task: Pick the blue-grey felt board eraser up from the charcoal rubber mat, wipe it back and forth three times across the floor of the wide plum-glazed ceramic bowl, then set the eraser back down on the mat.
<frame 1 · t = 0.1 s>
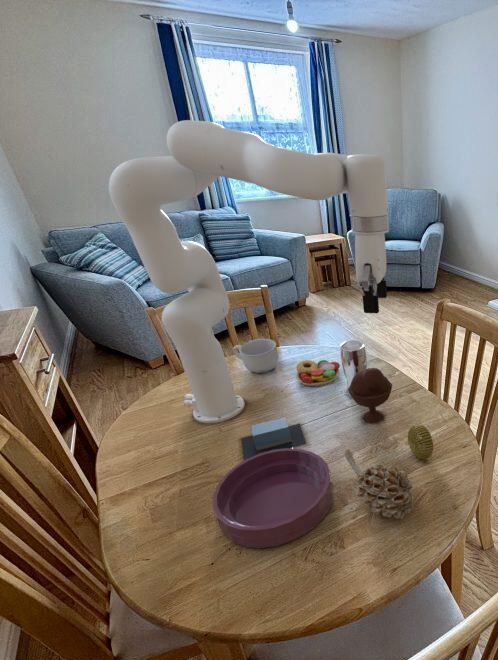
hand: (376, 304, 92), 31 cm above the table, tool pointing down, fingers open, 9 cm apart
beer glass: (357, 392, 119), on the table
serving bowl: (278, 504, 83), on the table
pine cone: (374, 497, 84), on the table
ice cream bowl: (373, 417, 108), on the table
toy food set: (319, 377, 127), on the table
rubber mat: (273, 442, 99), on the table
teacup: (259, 368, 132), on the table
board eraser: (273, 440, 99), resting on rubber mat
sculpture: (420, 455, 95), on the table
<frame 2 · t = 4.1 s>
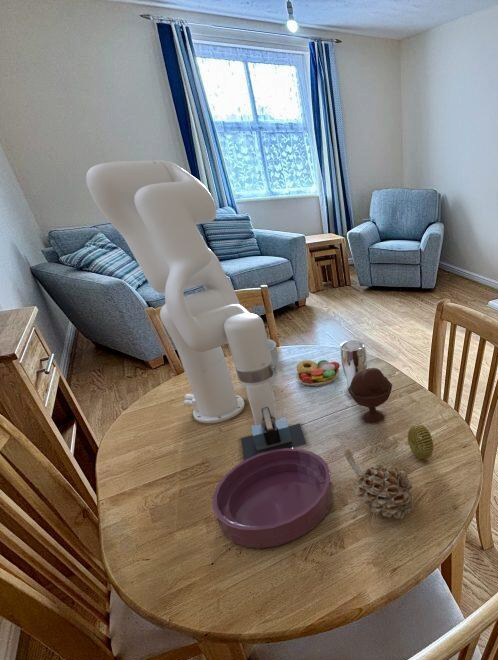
hand: (272, 436, 98), 2 cm above the table, tool pointing down, fingers closed on board eraser, 4 cm apart
board eraser: (273, 440, 99), resting on rubber mat, touching gripper
everything else where it was.
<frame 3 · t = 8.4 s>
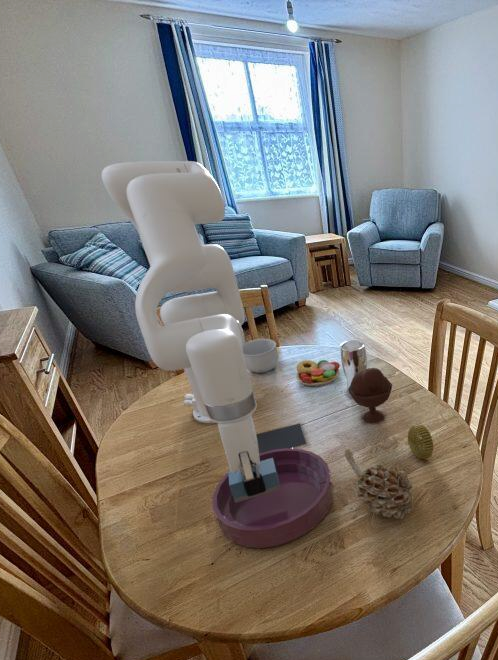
hand: (255, 483, 78), 7 cm above the table, tool pointing down, fingers closed on board eraser, 4 cm apart
board eraser: (257, 488, 78), point 6 cm above the table, touching gripper
everything else where it was.
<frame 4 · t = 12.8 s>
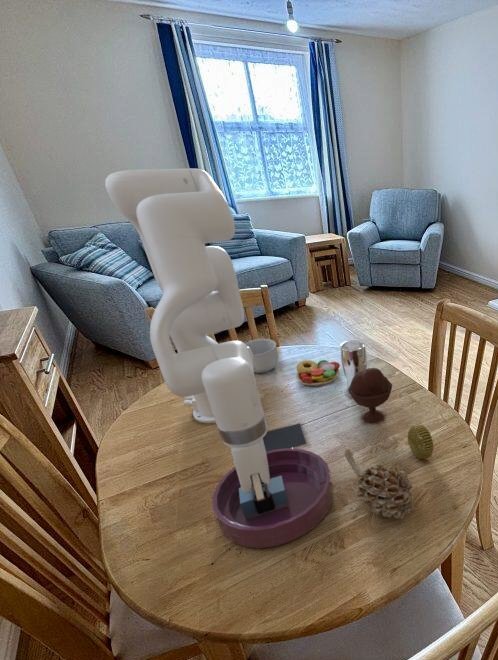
hand: (264, 500, 81), 2 cm above the table, tool pointing down, fingers closed on board eraser, 4 cm apart
board eraser: (266, 505, 81), point 1 cm above the table, touching gripper
everything else where it was.
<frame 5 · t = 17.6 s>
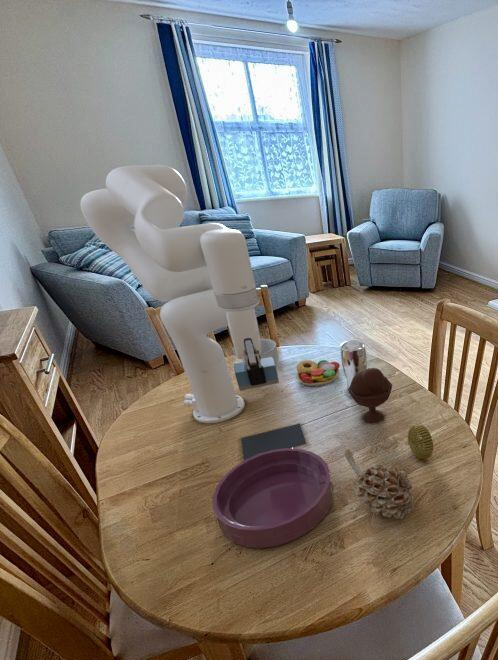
hand: (257, 377, 89), 19 cm above the table, tool pointing down, fingers closed on board eraser, 4 cm apart
board eraser: (258, 382, 90), point 17 cm above the table, touching gripper
everything else where it was.
when the fingers open (1 cm above the table, at t = 21.7 s): board eraser stays where it is, resting on rubber mat.
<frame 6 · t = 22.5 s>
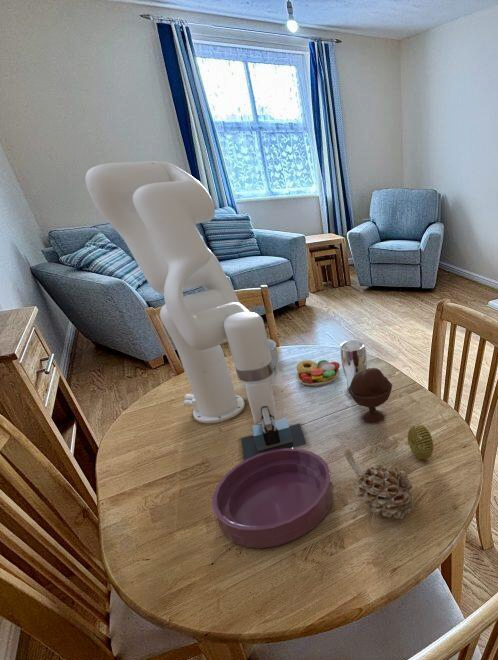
hand: (270, 431, 98), 3 cm above the table, tool pointing down, fingers open, 9 cm apart
board eraser: (274, 441, 99), resting on rubber mat
everything else where it was.
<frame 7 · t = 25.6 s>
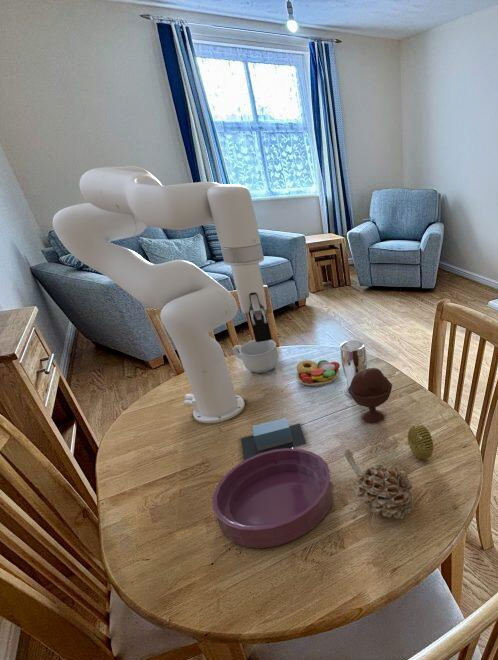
hand: (261, 332, 91), 26 cm above the table, tool pointing down, fingers open, 9 cm apart
nothing on the table moved.
at the end: serving bowl tilted 0°; serving bowl moved 0.0 cm from its start; board eraser inside the target area on the rubber mat (0.3 cm from its centre), point 0.4 cm above the rubber mat's base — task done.
